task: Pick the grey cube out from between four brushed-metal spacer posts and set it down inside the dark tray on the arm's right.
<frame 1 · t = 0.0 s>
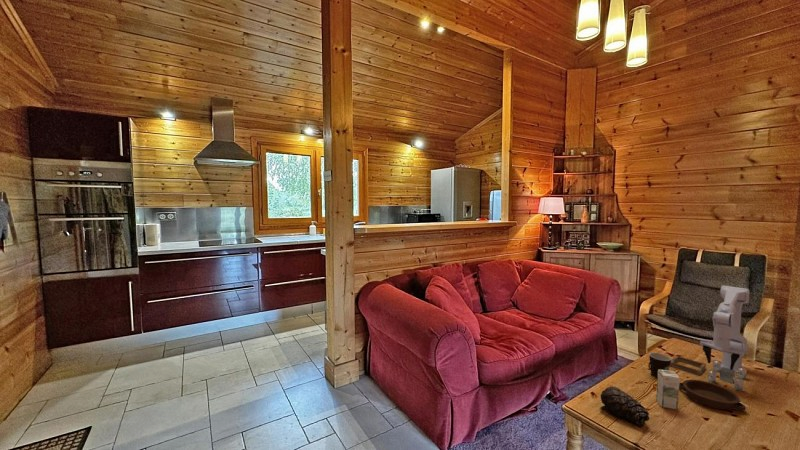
hand: (720, 365, 154), 10 cm above the table, fingers open, 7 cm apart
syrup box: (666, 405, 141), on the table
spacer d: (711, 381, 159), on the table
spacer a: (741, 378, 162), on the table
tray: (687, 367, 173), on the table
dish: (709, 401, 144), on the table
pine cone: (624, 416, 135), on the table
spacer b: (716, 370, 169), on the table
spacer c: (738, 390, 152), on the table
grey cube: (726, 379, 161), on the table
coffee mug: (655, 376, 165), on the table
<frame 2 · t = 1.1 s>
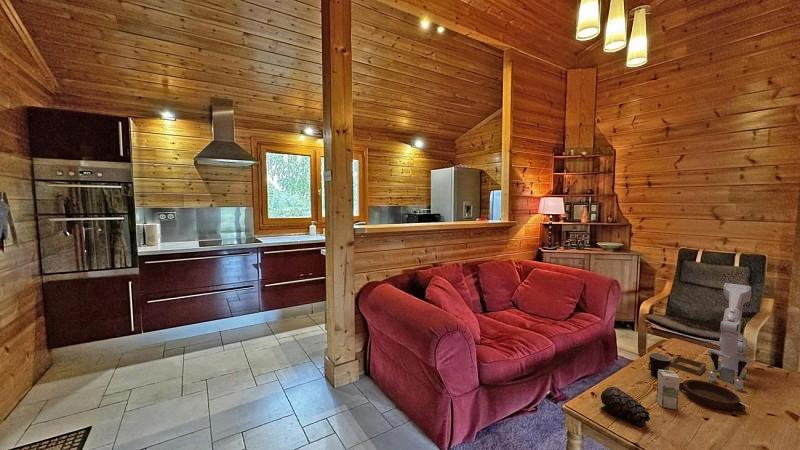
hand: (727, 372, 160), 4 cm above the table, fingers open, 7 cm apart
nothing on the table moved.
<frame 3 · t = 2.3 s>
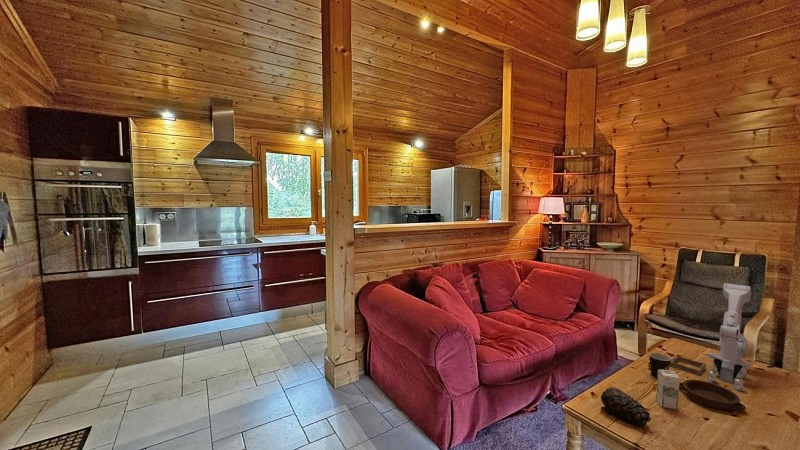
hand: (727, 376, 160), 1 cm above the table, fingers closed on grey cube, 4 cm apart
grey cube: (727, 379, 160), on the table, touching gripper
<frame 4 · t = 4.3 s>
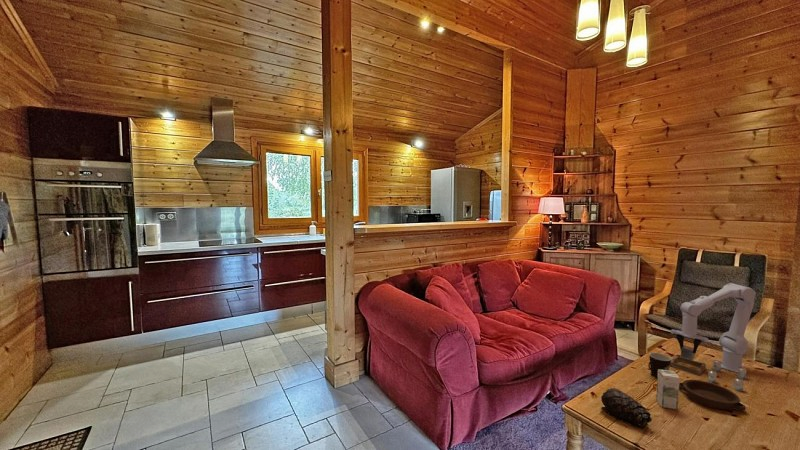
hand: (688, 351, 172), 9 cm above the table, fingers closed on grey cube, 4 cm apart
grey cube: (687, 357, 172), point 6 cm above the table, touching gripper
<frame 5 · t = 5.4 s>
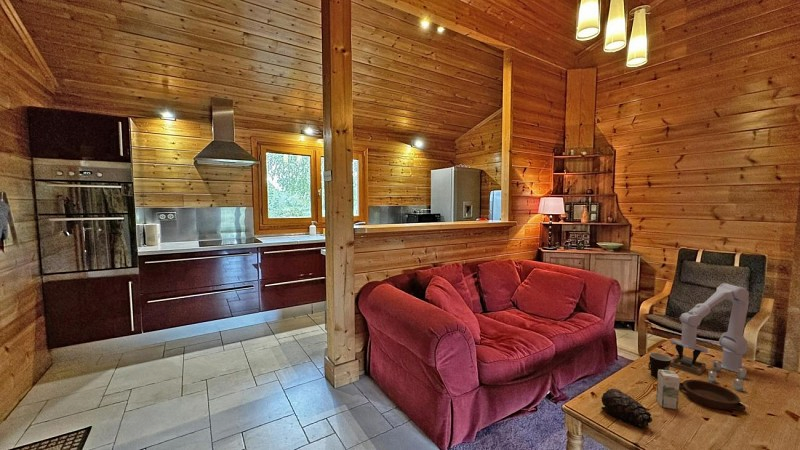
hand: (687, 361, 172), 3 cm above the table, fingers closed on grey cube, 4 cm apart
grey cube: (687, 367, 172), resting in tray, touching gripper
when the fingers open (3 cm above the table, at t = 6.2 s): grey cube stays where it is, resting in tray.
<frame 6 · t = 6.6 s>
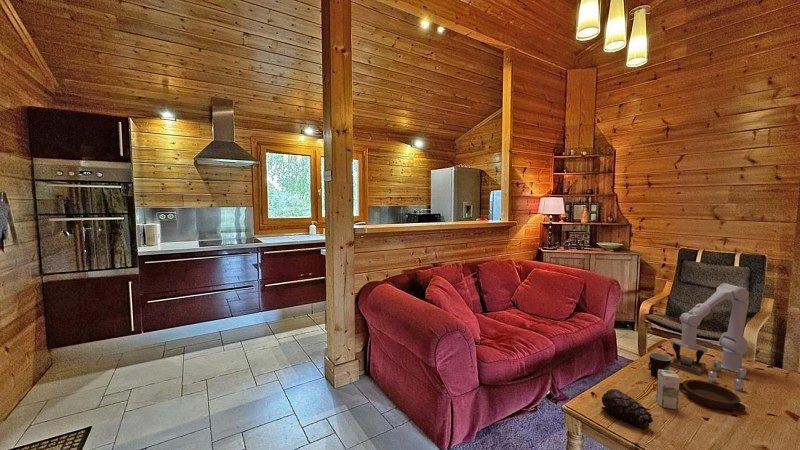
hand: (687, 361, 172), 3 cm above the table, fingers open, 7 cm apart
grey cube: (687, 367, 172), resting in tray
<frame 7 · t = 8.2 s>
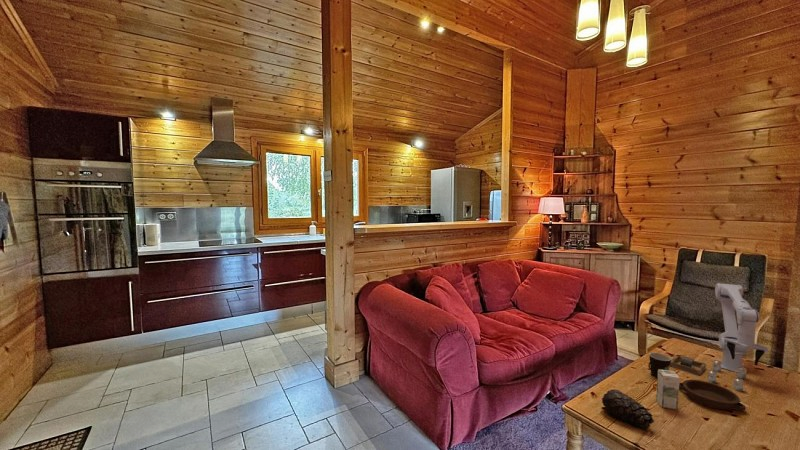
hand: (744, 361, 158), 10 cm above the table, fingers open, 7 cm apart
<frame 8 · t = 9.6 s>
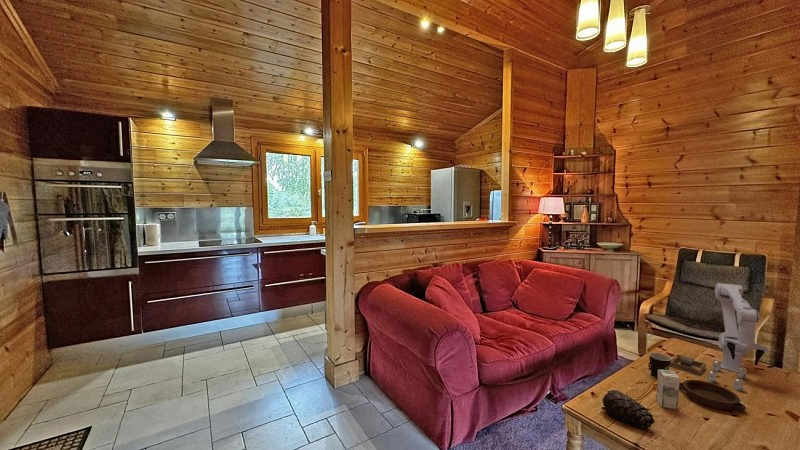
hand: (744, 361, 158), 10 cm above the table, fingers open, 7 cm apart
at the end: grey cube inside the target area on the tray (0.4 cm from its centre), point 0.0 cm above the tray's base; the gripper is holding nothing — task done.
